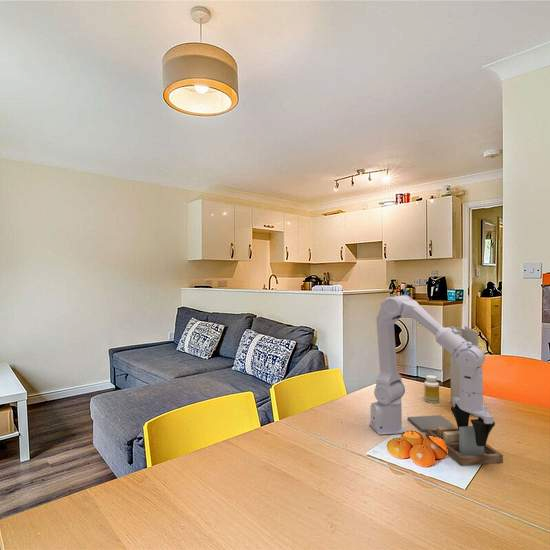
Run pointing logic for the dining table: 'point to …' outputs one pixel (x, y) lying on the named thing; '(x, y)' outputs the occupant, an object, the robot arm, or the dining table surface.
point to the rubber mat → (429, 422)
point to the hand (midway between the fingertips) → (471, 439)
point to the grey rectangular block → (468, 442)
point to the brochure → (455, 369)
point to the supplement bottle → (431, 389)
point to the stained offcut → (445, 430)
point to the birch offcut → (451, 436)
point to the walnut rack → (487, 458)
